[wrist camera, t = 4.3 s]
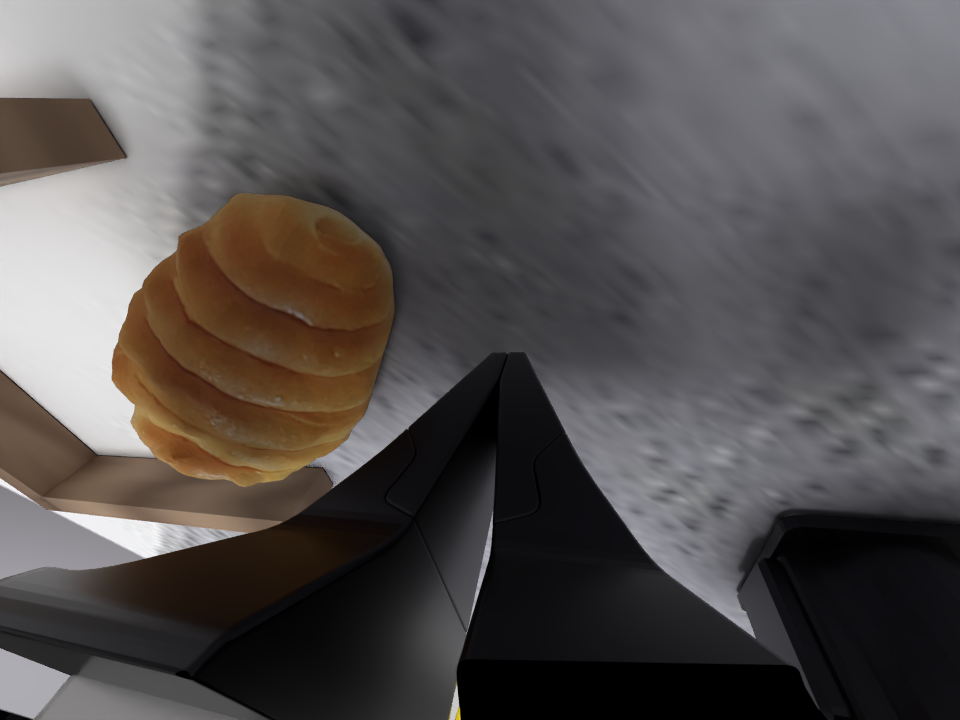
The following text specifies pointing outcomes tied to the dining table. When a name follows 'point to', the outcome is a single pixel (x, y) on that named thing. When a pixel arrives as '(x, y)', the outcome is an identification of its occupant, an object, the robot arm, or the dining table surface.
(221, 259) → the pastry
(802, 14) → the dining table surface
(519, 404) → the robot arm
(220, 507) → the frame
